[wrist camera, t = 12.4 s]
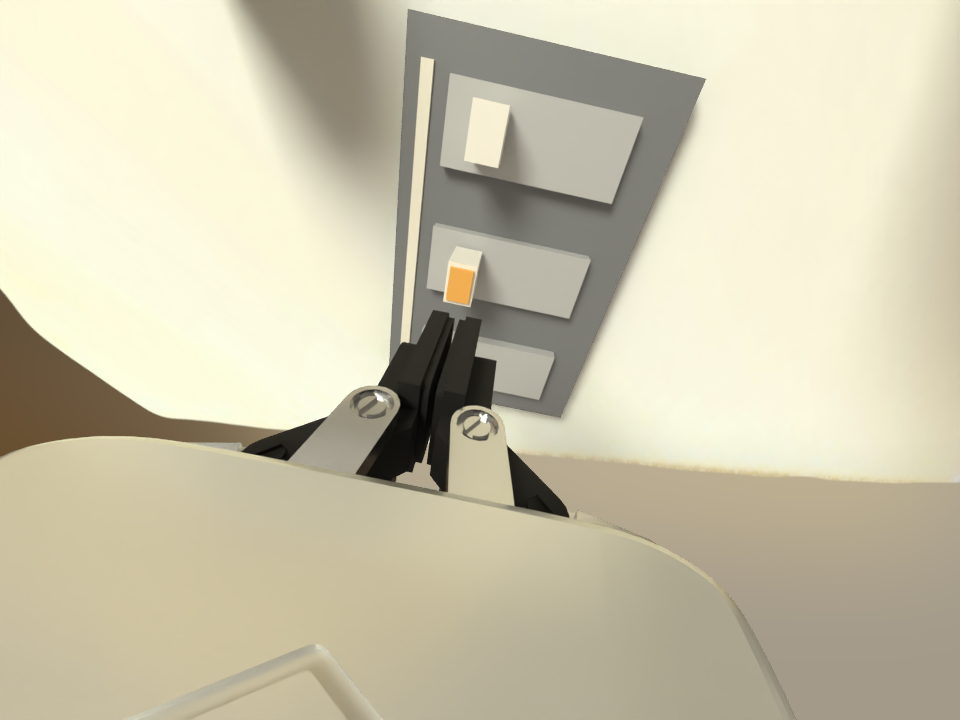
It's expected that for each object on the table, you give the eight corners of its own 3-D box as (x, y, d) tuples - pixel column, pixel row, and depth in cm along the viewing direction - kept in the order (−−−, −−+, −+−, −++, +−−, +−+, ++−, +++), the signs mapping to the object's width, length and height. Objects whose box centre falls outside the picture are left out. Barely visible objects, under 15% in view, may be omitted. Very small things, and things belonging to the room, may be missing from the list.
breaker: (511, 107, 22) (510, 105, 19) (500, 162, 23) (498, 168, 21) (479, 100, 22) (472, 96, 19) (470, 156, 23) (463, 160, 21)
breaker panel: (692, 82, 23) (713, 77, 20) (558, 404, 39) (561, 424, 36) (416, 17, 22) (403, 4, 20) (393, 370, 38) (385, 388, 36)
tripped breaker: (482, 251, 27) (477, 268, 24) (475, 288, 28) (470, 308, 25) (456, 246, 27) (448, 262, 24) (450, 283, 28) (442, 302, 25)
